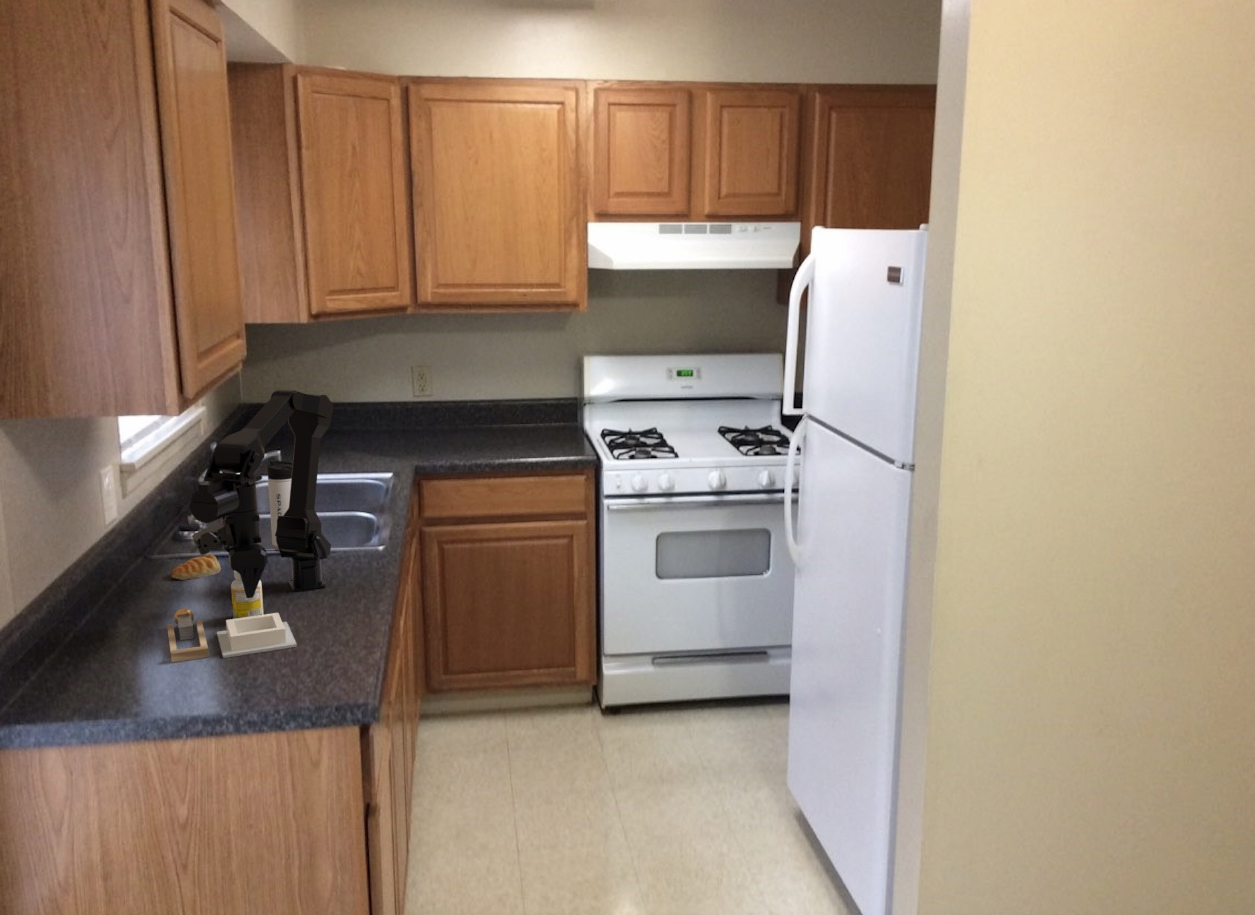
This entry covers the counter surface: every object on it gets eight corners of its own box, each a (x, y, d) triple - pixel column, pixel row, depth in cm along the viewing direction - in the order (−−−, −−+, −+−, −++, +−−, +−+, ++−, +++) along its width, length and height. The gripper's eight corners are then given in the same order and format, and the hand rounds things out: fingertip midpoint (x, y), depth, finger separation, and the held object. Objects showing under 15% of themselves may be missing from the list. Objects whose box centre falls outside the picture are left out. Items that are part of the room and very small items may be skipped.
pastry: (182, 584, 212) (180, 566, 211) (165, 578, 216) (163, 560, 215) (224, 573, 219) (222, 556, 218) (206, 567, 223) (205, 550, 222)
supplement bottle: (257, 623, 189) (254, 574, 187) (228, 623, 189) (224, 573, 187) (268, 613, 195) (264, 565, 193) (239, 613, 195) (236, 564, 193)
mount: (167, 630, 186) (166, 622, 186) (202, 625, 188) (201, 617, 188) (171, 662, 172) (170, 654, 171) (208, 656, 174) (208, 648, 174)
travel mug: (290, 541, 242) (284, 458, 238) (306, 546, 237) (301, 462, 233) (266, 547, 237) (260, 462, 233) (282, 552, 233) (276, 466, 229)
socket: (217, 634, 184) (215, 618, 183) (286, 624, 189) (285, 608, 189) (223, 658, 174) (221, 641, 173) (296, 646, 179) (295, 630, 178)
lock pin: (175, 626, 188) (173, 609, 187) (193, 623, 189) (192, 607, 188) (177, 640, 181) (175, 623, 180) (196, 638, 182) (195, 620, 182)
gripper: (190, 502, 192) (196, 581, 196) (196, 526, 176) (204, 612, 179) (252, 495, 197) (258, 573, 200) (265, 519, 181) (271, 603, 184)
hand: (247, 590), depth 191 cm, fingers open, 9 cm apart
